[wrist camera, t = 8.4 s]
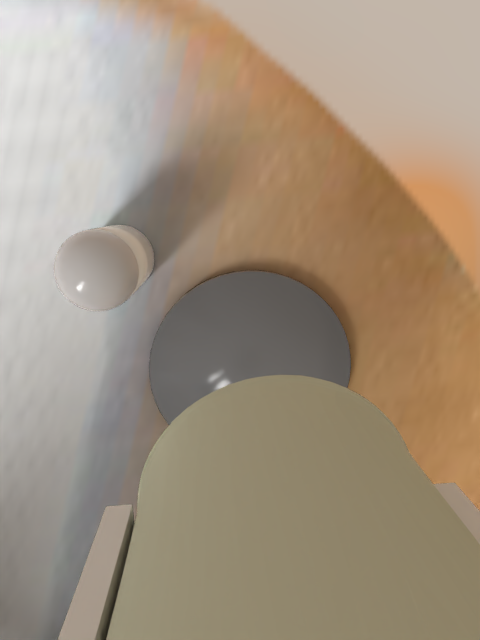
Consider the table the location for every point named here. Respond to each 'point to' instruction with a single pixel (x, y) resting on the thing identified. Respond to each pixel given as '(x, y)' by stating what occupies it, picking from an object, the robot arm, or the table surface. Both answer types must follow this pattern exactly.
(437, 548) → the can
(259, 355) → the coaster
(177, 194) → the table surface
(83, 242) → the salt shaker
